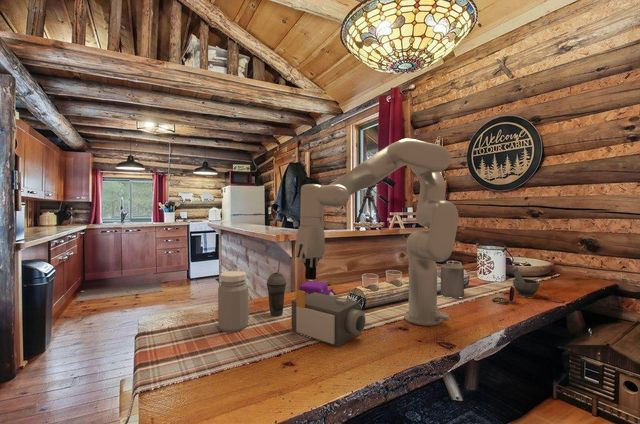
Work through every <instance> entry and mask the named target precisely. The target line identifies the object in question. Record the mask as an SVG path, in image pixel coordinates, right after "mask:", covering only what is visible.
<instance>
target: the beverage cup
mask: <svg viewBox="0 0 640 424" xmlns="http://www.w3.org/2000/svg"><path fill="white" fill-rule="evenodd" d="M280 266H281V260H278V266H277V272H273V273H271V274H270V275H269V276H268V278H267V281H266V287H267V288H266V289H267V292H268V293H267V294H268V303H269V313H270V316H271V317H275V318H276V317H281V316H283V313H284V304H285V293H286V292H285V291H286V286H287V281H286V278H285V277H284V275H283V274H282V273H281V272H280Z"/></svg>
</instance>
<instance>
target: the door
mask: <svg viewBox="0 0 640 424" xmlns="http://www.w3.org/2000/svg"><path fill="white" fill-rule="evenodd" d="M295 292H296V293H295V295H296V297H295V299H296V332H298V333H301V334H304V335H307V336H310V337H313V338H316V339H319V340H322V341H325V342H328V343H331V344H334V343H335V315H331V314H327V313H324V312H320V311H316V310H312V309H308V308H305V291H301V290H299V289H297V290H295Z"/></svg>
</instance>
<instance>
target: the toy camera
mask: <svg viewBox="0 0 640 424" xmlns="http://www.w3.org/2000/svg"><path fill="white" fill-rule="evenodd" d="M298 290H301V291H305V296H306V295H308V294H311V293H314V292H316V293H321V294H325V295H330V296H334V297H335V292H334V289H333V288H330V289H329V286H328V283H327V282H324V281H316V280H315V281H314V280H309V279H308V281H305V282H304V283H302V284H301V285H299V289H298Z"/></svg>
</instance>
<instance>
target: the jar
mask: <svg viewBox="0 0 640 424" xmlns="http://www.w3.org/2000/svg"><path fill="white" fill-rule="evenodd" d="M219 277H220V278H219V280H220V283H219V286H218V288H217V309H218V310H217V314H218V315H217V326H218V328H219V329H220V330H221V331H223V332H226V333H227V332H228V333H234V332H239V331H242V330H245V328H246V327H247V326H248V325H249V286H248V285H247V284H246V283H247V280H246V279H247V273H246V272H245V271H242V270H229V271H224V272H221V273H220V275H219Z"/></svg>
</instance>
